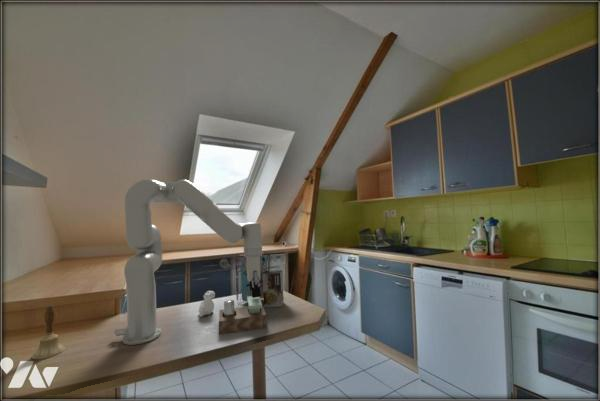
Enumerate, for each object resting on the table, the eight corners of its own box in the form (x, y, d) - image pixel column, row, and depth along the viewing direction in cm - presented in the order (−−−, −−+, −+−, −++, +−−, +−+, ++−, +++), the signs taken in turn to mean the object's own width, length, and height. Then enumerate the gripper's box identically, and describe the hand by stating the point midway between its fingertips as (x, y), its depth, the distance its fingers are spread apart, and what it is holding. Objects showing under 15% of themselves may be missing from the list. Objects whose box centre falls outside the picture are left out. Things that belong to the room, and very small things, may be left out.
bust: (204, 323, 115) (220, 301, 117) (190, 314, 114) (206, 292, 116) (209, 313, 127) (224, 293, 128) (196, 304, 126) (211, 284, 128)
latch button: (249, 320, 103) (249, 306, 103) (247, 309, 114) (247, 296, 115) (262, 319, 104) (262, 304, 104) (259, 308, 116) (258, 295, 116)
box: (221, 310, 125) (220, 258, 125) (219, 306, 130) (218, 256, 131) (272, 300, 135) (270, 252, 136) (268, 297, 141) (266, 251, 142)
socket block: (219, 334, 100) (218, 321, 100) (219, 321, 111) (219, 309, 111) (266, 327, 104) (266, 314, 105) (262, 315, 116) (262, 304, 116)
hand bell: (69, 344, 96) (69, 300, 96) (58, 356, 88) (58, 307, 89) (39, 350, 93) (39, 304, 93) (26, 362, 85) (26, 312, 86)
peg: (224, 329, 104) (223, 303, 104) (224, 325, 108) (223, 300, 108) (234, 327, 105) (234, 302, 105) (234, 323, 109) (234, 299, 109)
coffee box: (284, 302, 132) (283, 269, 133) (281, 307, 126) (280, 273, 126) (266, 302, 133) (265, 270, 134) (263, 307, 127) (262, 273, 127)
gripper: (242, 250, 117) (244, 288, 117) (245, 256, 101) (247, 301, 100) (259, 248, 119) (261, 286, 119) (264, 254, 103) (267, 298, 102)
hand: (255, 293), depth 110 cm, fingers open, 9 cm apart
